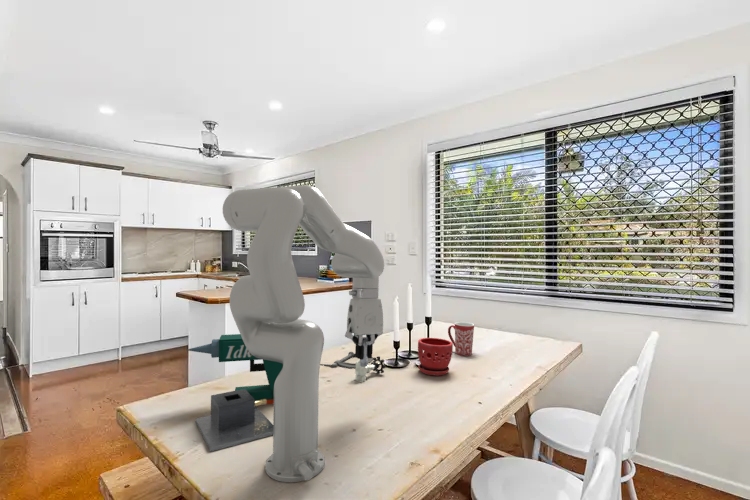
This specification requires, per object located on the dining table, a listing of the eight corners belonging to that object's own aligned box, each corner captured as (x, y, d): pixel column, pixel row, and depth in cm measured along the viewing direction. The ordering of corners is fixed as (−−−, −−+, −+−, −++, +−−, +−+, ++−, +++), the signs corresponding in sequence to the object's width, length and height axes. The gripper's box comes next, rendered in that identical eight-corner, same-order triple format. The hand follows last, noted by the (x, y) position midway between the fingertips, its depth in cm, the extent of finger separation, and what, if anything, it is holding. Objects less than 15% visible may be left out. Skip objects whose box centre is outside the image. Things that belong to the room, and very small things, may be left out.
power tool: (181, 412, 111) (181, 342, 111) (186, 402, 118) (186, 336, 117) (295, 402, 119) (296, 336, 119) (294, 393, 126) (295, 331, 126)
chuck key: (372, 367, 111) (373, 339, 111) (366, 368, 110) (366, 340, 110) (361, 362, 116) (361, 335, 116) (354, 363, 115) (355, 336, 115)
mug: (478, 353, 177) (478, 323, 176) (467, 357, 170) (467, 326, 170) (454, 348, 185) (454, 319, 185) (443, 351, 179) (443, 322, 179)
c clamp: (354, 373, 149) (354, 366, 149) (317, 366, 157) (317, 359, 157) (379, 360, 166) (379, 353, 166) (344, 354, 175) (344, 348, 175)
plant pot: (437, 380, 141) (437, 347, 140) (410, 371, 150) (410, 340, 150) (459, 372, 149) (459, 341, 149) (432, 364, 159) (433, 335, 159)
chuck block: (281, 432, 99) (281, 405, 99) (210, 451, 90) (210, 421, 90) (258, 408, 114) (258, 384, 114) (195, 422, 105) (195, 396, 105)
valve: (363, 383, 136) (385, 375, 145) (363, 364, 136) (385, 358, 145) (350, 379, 141) (372, 371, 149) (350, 361, 140) (372, 354, 149)
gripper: (348, 296, 106) (346, 364, 105) (395, 294, 115) (393, 357, 114) (334, 293, 112) (333, 358, 112) (380, 292, 121) (378, 351, 121)
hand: (363, 357), depth 113 cm, fingers closed on chuck key, 2 cm apart
